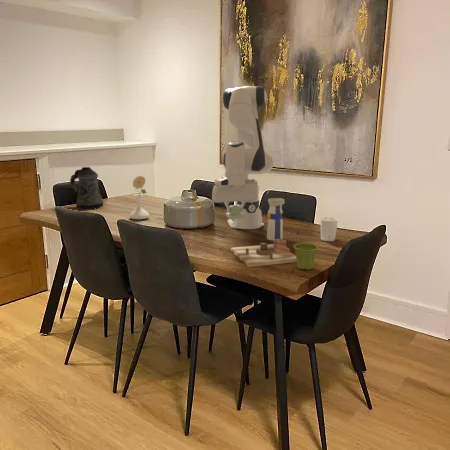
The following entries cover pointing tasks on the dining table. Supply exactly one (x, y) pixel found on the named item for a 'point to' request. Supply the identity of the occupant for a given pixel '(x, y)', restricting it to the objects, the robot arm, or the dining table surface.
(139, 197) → the flower in vase
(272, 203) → the water bottle
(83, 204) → the beer stein
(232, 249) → the plate
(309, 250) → the plant pot
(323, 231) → the white cup
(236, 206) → the pale green pipe fitting
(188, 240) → the dining table surface
